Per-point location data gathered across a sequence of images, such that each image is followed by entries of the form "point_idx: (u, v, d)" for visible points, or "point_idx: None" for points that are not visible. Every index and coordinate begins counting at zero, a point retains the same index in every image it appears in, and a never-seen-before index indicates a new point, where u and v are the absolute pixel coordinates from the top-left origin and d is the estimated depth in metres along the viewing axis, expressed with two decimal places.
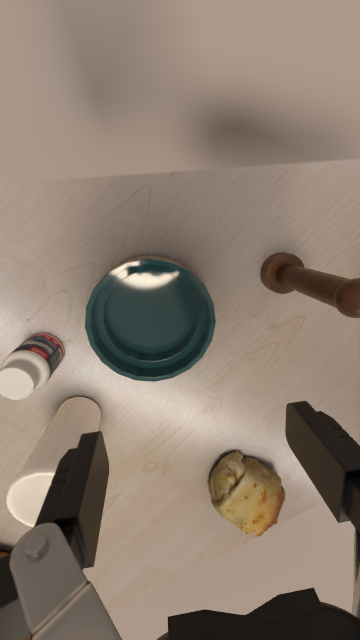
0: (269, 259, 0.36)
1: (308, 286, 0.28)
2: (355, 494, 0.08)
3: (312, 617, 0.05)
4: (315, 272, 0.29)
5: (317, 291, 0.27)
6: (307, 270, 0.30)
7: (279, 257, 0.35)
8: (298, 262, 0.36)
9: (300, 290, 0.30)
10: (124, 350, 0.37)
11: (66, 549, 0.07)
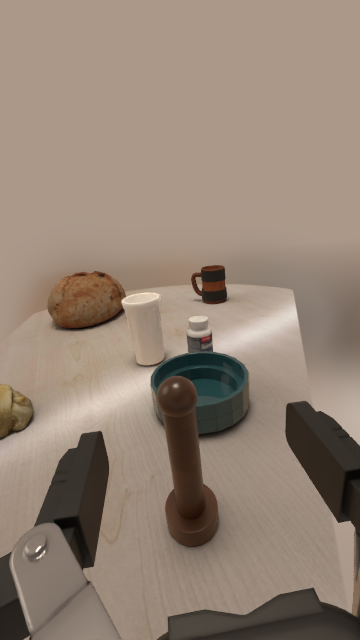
0: None
1: None
2: (355, 494, 0.08)
3: (312, 617, 0.05)
4: (199, 450, 0.25)
5: None
6: (200, 462, 0.25)
7: (215, 501, 0.27)
8: (200, 525, 0.26)
9: None
10: (182, 375, 0.49)
11: (66, 549, 0.07)
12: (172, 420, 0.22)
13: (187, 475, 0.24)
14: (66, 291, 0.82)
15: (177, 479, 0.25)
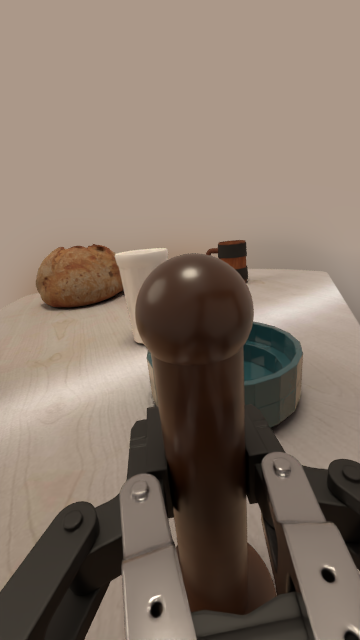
0: None
1: None
2: (257, 476, 0.09)
3: None
4: (245, 469, 0.10)
5: None
6: None
7: (270, 584, 0.12)
8: None
9: None
10: None
11: (161, 504, 0.08)
12: (178, 374, 0.07)
13: (214, 534, 0.09)
14: (57, 263, 0.69)
15: (186, 541, 0.10)
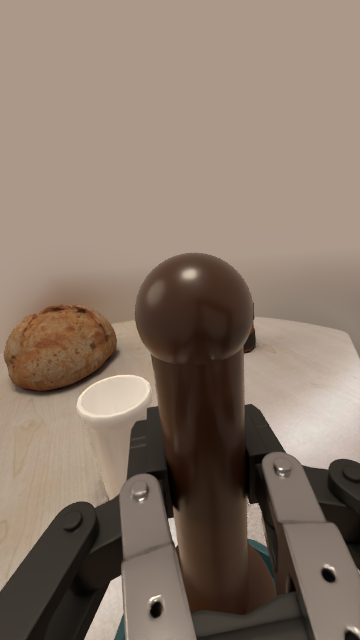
0: None
1: None
2: (258, 476, 0.09)
3: None
4: (245, 469, 0.10)
5: None
6: (246, 499, 0.10)
7: (271, 584, 0.12)
8: None
9: None
10: None
11: (161, 504, 0.08)
12: (177, 374, 0.07)
13: (214, 534, 0.09)
14: (26, 339, 0.57)
15: (186, 541, 0.10)
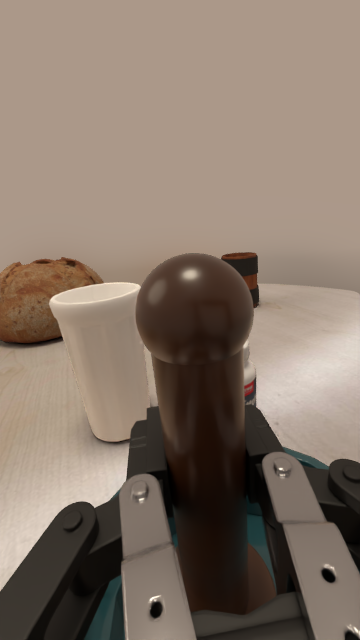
0: None
1: None
2: (258, 476, 0.09)
3: None
4: None
5: None
6: (246, 499, 0.10)
7: (271, 584, 0.12)
8: None
9: None
10: None
11: (160, 504, 0.08)
12: (177, 374, 0.07)
13: (214, 534, 0.09)
14: (7, 285, 0.52)
15: (186, 541, 0.10)
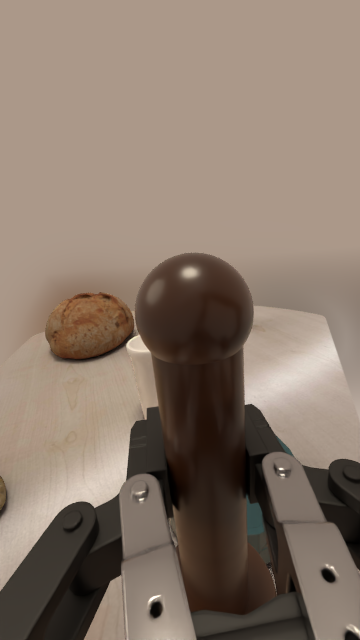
0: None
1: None
2: (258, 476, 0.09)
3: None
4: None
5: None
6: (246, 499, 0.10)
7: (270, 583, 0.12)
8: None
9: None
10: None
11: (160, 504, 0.08)
12: (177, 374, 0.07)
13: (214, 534, 0.09)
14: (66, 317, 0.72)
15: (186, 540, 0.10)
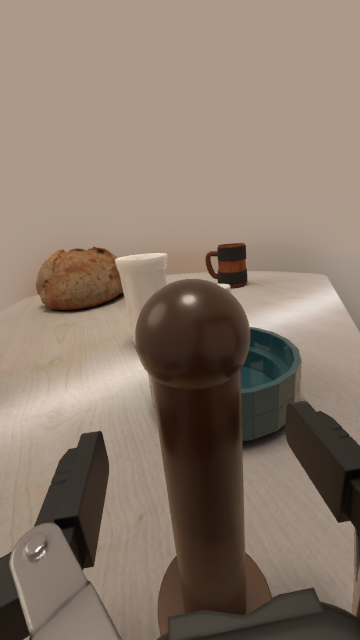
0: None
1: None
2: (355, 494, 0.08)
3: (312, 617, 0.05)
4: None
5: None
6: None
7: (268, 595, 0.12)
8: None
9: None
10: None
11: (66, 549, 0.07)
12: (176, 398, 0.07)
13: (212, 550, 0.09)
14: (57, 266, 0.69)
15: (185, 555, 0.10)
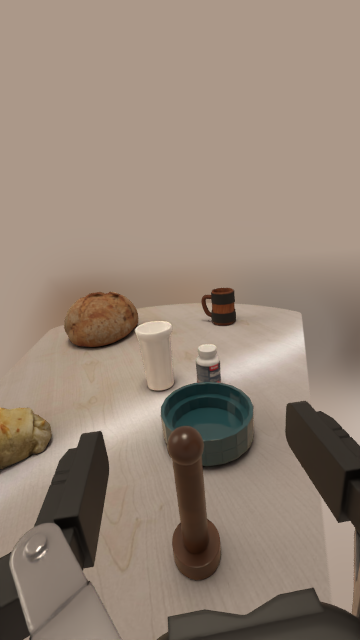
0: None
1: None
2: (355, 494, 0.08)
3: (312, 617, 0.05)
4: (204, 492, 0.27)
5: None
6: (205, 503, 0.28)
7: (218, 537, 0.30)
8: (204, 560, 0.28)
9: None
10: (191, 404, 0.52)
11: (66, 549, 0.07)
12: (180, 467, 0.25)
13: (192, 515, 0.27)
14: (82, 312, 0.87)
15: (183, 518, 0.27)
